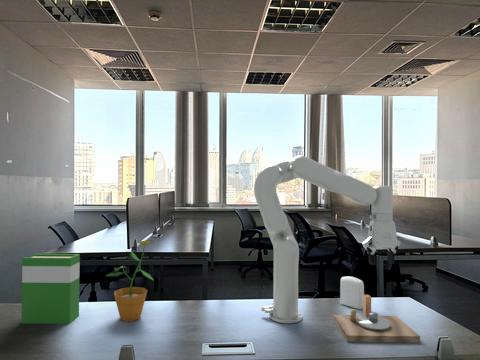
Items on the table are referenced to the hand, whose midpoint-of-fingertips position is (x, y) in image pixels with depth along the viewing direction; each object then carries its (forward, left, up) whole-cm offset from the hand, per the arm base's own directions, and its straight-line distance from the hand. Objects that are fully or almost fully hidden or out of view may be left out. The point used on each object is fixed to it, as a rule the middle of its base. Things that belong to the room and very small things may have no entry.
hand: (381, 263), depth 134 cm
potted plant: (-96, 0, -22) cm, 99 cm away
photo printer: (-6, +16, -22) cm, 28 cm away
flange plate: (-6, -8, -20) cm, 22 cm away
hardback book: (-125, -3, -22) cm, 127 cm away
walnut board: (-6, -9, -22) cm, 24 cm away
